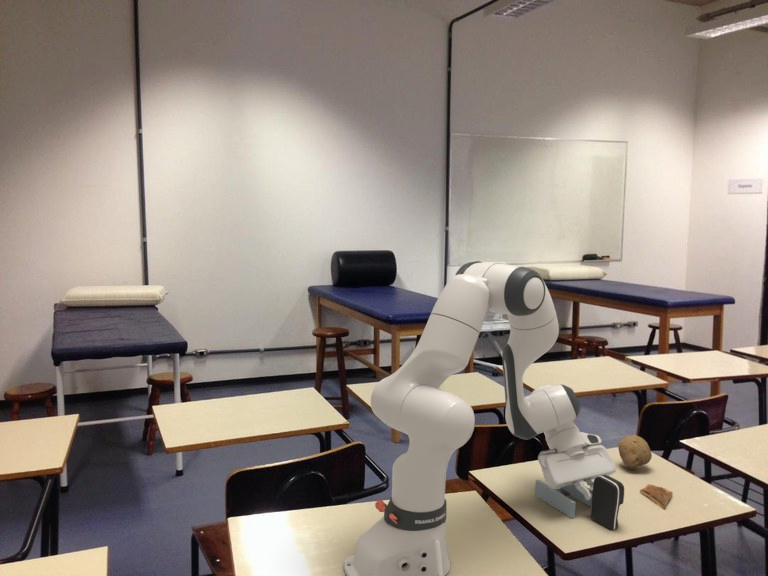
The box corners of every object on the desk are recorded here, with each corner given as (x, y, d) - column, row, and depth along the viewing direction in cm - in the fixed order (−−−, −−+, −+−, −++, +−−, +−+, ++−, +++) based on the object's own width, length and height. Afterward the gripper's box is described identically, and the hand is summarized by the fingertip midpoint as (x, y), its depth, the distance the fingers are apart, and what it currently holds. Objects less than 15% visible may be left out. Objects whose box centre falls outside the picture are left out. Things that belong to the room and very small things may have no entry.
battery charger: (622, 527, 152) (628, 483, 150) (612, 531, 150) (617, 486, 148) (599, 513, 158) (604, 470, 156) (588, 517, 156) (593, 474, 154)
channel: (571, 518, 156) (572, 503, 156) (534, 494, 169) (535, 480, 168) (601, 511, 160) (602, 495, 160) (563, 488, 173) (563, 474, 172)
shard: (664, 512, 161) (665, 505, 161) (633, 503, 166) (633, 497, 165) (673, 496, 170) (674, 490, 170) (643, 488, 175) (643, 482, 174)
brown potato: (644, 463, 191) (646, 431, 189) (655, 475, 182) (657, 442, 181) (613, 462, 191) (615, 430, 190) (622, 474, 182) (624, 440, 181)
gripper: (541, 447, 157) (567, 501, 149) (604, 435, 165) (631, 486, 158) (529, 457, 161) (553, 511, 154) (590, 445, 170) (616, 495, 163)
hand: (593, 498), depth 156 cm, fingers closed, pressing on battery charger
